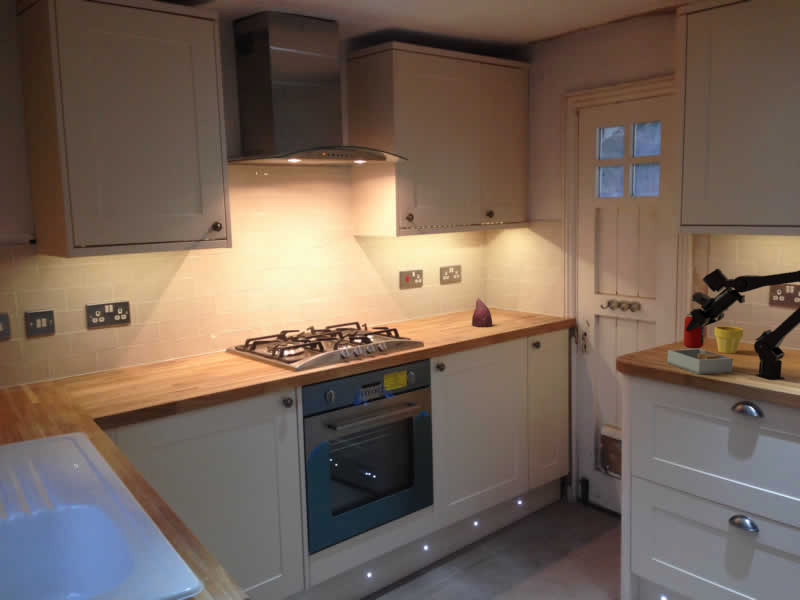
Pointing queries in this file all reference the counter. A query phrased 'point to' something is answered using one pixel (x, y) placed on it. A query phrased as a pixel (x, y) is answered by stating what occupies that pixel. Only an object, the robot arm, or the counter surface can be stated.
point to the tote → (699, 361)
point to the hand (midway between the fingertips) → (690, 329)
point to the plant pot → (728, 338)
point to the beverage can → (693, 335)
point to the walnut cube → (707, 356)
